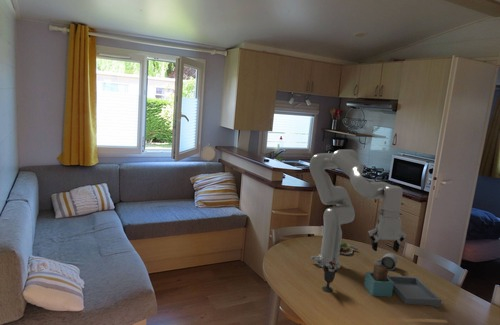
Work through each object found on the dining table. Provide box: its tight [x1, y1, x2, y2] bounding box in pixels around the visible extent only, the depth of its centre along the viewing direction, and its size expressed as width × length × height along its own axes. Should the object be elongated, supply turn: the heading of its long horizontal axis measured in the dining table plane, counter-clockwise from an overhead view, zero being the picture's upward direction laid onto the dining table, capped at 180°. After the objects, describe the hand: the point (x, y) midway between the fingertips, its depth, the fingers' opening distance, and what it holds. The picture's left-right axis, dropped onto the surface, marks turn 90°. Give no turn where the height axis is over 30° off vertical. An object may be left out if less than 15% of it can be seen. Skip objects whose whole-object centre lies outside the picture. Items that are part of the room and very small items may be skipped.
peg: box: [372, 264, 389, 281], centre depth 158 cm, size 4×4×12 cm
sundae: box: [321, 258, 339, 293], centre depth 157 cm, size 7×7×15 cm
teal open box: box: [363, 271, 394, 297], centre depth 158 cm, size 9×9×8 cm
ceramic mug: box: [374, 253, 398, 272], centre depth 186 cm, size 11×8×8 cm
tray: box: [387, 275, 442, 308], centre depth 160 cm, size 16×20×4 cm
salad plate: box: [339, 241, 359, 256], centre depth 205 cm, size 19×18×5 cm
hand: (384, 250), depth 155 cm, fingers open, 9 cm apart
